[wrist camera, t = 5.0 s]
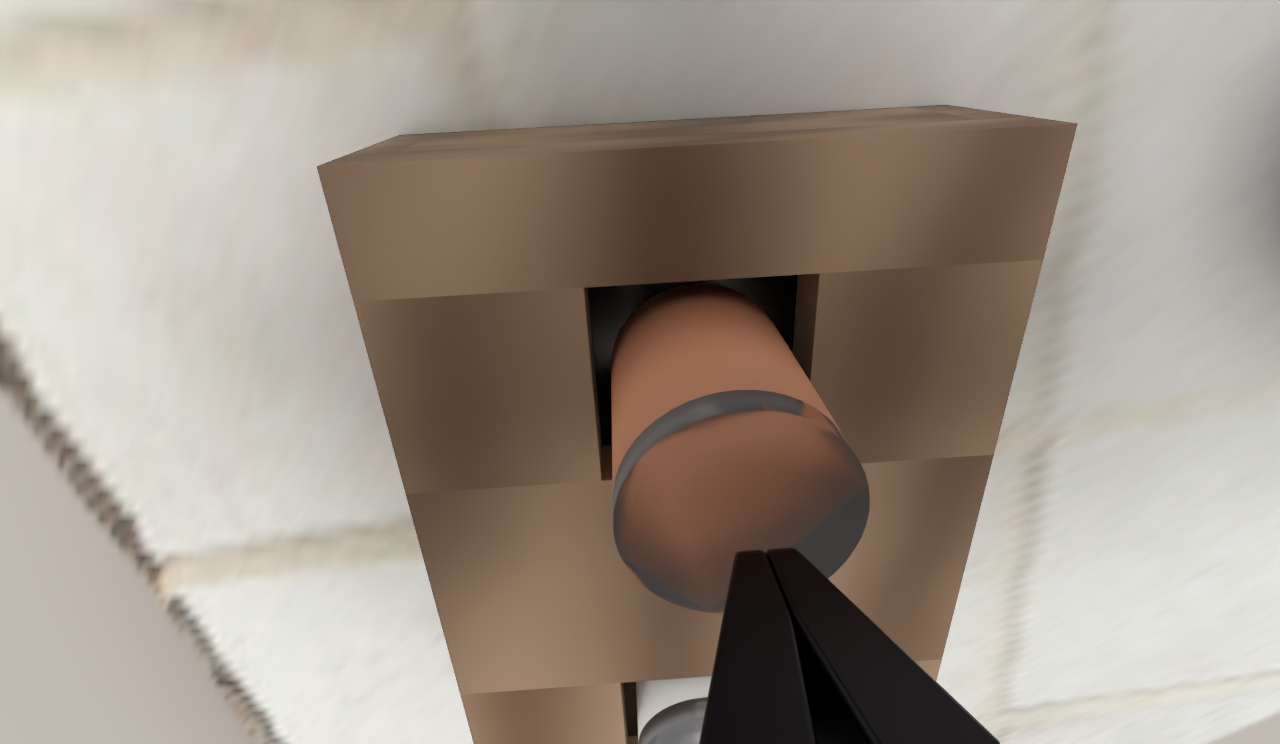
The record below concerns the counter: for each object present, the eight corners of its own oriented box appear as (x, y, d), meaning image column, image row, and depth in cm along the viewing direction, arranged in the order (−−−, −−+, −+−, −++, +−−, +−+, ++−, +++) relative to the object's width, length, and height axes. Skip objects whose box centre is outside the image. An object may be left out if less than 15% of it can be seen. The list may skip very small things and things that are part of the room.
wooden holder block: (946, 104, 16) (1077, 123, 12) (853, 676, 26) (904, 805, 22) (399, 135, 16) (316, 166, 11) (517, 701, 26) (499, 836, 21)
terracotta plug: (786, 277, 14) (886, 401, 9) (777, 431, 16) (855, 604, 11) (604, 288, 14) (603, 419, 9) (616, 442, 15) (621, 622, 11)
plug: (741, 567, 22) (779, 711, 17) (738, 644, 24) (771, 794, 19) (629, 575, 22) (636, 722, 17) (635, 652, 24) (642, 805, 19)
